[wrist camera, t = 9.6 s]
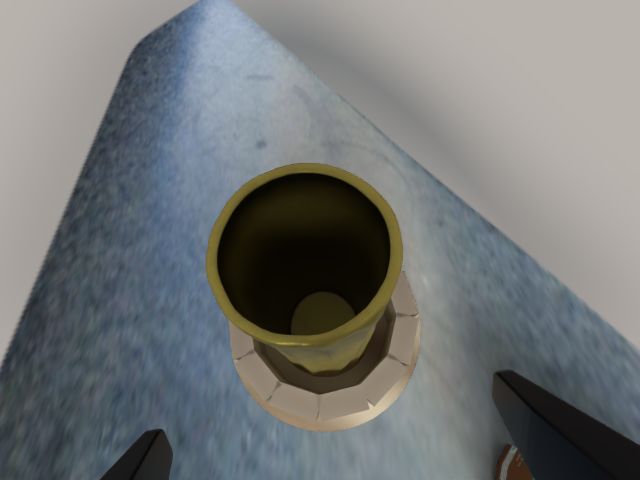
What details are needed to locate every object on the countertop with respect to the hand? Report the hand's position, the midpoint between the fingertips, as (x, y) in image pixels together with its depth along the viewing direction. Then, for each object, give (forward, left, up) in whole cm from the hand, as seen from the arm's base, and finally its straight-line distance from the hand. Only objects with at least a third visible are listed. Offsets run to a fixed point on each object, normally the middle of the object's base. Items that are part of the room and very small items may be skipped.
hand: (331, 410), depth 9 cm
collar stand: (+4, +2, -13) cm, 14 cm away
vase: (+4, +2, -12) cm, 13 cm away
